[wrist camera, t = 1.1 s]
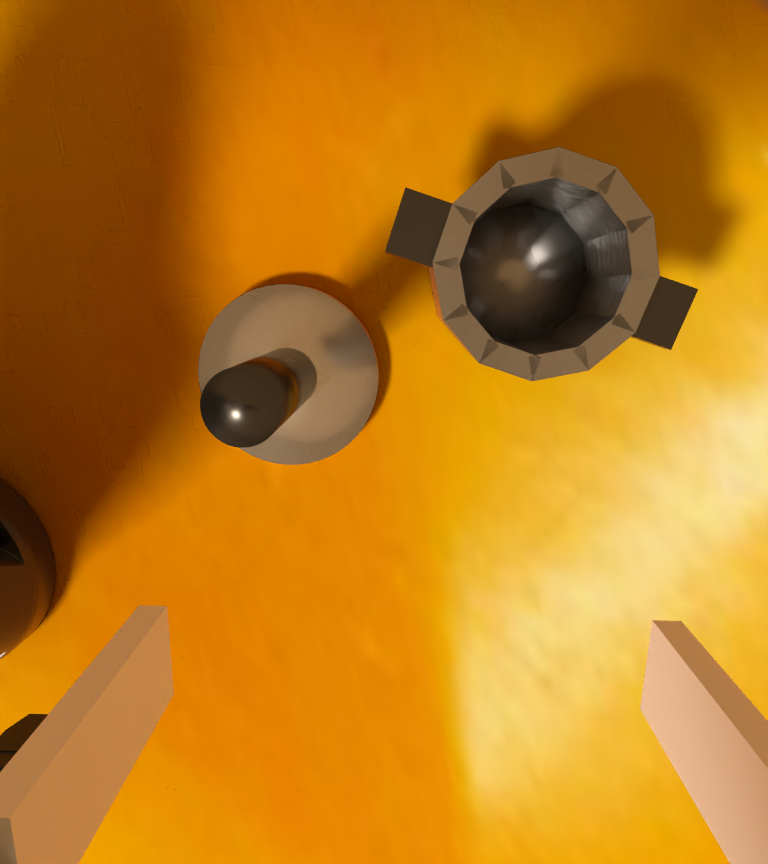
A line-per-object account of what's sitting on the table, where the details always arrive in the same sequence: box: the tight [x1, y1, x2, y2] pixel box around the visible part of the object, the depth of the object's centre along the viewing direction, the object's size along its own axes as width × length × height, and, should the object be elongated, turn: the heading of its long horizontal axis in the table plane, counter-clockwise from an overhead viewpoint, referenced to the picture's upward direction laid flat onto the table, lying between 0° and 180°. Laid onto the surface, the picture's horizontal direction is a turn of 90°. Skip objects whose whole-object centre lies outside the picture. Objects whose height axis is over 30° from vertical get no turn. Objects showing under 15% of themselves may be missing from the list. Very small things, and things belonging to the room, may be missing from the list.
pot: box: [385, 147, 698, 381], centre depth 31 cm, size 15×10×8 cm
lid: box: [198, 284, 379, 465], centre depth 31 cm, size 11×11×11 cm
